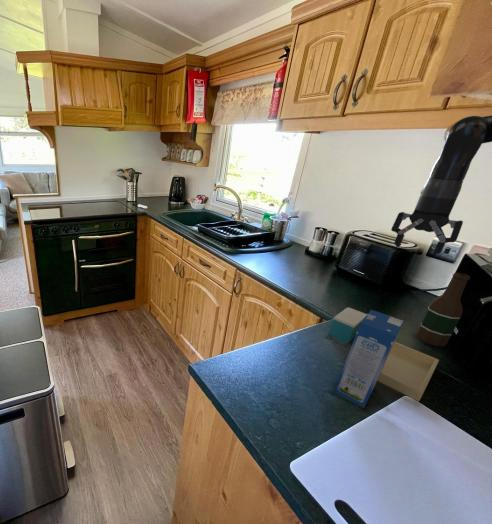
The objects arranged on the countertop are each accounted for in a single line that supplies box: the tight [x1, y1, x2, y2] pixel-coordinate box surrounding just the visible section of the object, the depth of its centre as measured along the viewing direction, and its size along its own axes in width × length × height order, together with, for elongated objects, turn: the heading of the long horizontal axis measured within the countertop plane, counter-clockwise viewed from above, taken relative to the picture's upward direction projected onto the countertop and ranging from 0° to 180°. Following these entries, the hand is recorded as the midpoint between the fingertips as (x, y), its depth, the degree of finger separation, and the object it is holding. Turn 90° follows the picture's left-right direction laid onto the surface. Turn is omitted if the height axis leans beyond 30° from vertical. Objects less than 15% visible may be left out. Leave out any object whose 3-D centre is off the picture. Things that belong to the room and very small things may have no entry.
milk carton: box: [333, 309, 405, 409], centre depth 69 cm, size 10×6×20 cm, turn 131°
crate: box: [377, 341, 440, 402], centre depth 81 cm, size 16×22×3 cm
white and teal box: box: [328, 306, 368, 345], centre depth 94 cm, size 6×12×8 cm, turn 128°
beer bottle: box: [415, 272, 471, 348], centre depth 92 cm, size 8×8×24 cm
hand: (415, 250), depth 87 cm, fingers open, 8 cm apart
